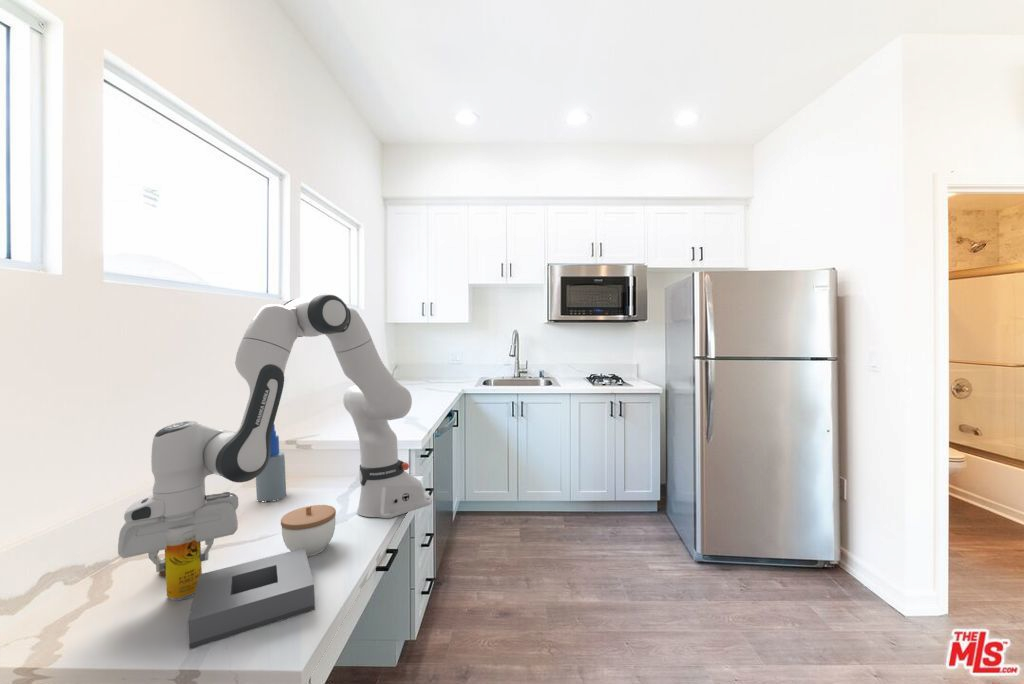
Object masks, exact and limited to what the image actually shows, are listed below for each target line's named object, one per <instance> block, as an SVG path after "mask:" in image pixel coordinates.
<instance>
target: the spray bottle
mask: <svg viewBox="0 0 1024 684" xmlns="http://www.w3.org/2000/svg"><path fill="white" fill-rule="evenodd" d="M275 427H276V426H275V424H274V425H273V428H272V432H271V440H270V446H271V453H270V459H269V462H268V464H267V466H266V468H265V469H264V470H263V471H262V473H261V474H259V475H258V476H257V477H255V489H256V501H257V500H258V501H261V502H260V503H266V502H265V501H271V502H274V501H273V500H276V501H278V500H277V499H279V500H281V499H280V498H282V499H283V497H284V498H285V497H286V496H287V482H286V461H285V459H286V458H285V453H284V452H283V451H280V439H279V438H280V436H279V435H277V432H276V431H277V430H276V428H275ZM258 501H257V502H258ZM262 501H264V502H262Z"/></svg>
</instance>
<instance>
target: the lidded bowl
mask: <svg viewBox="0 0 1024 684" xmlns="http://www.w3.org/2000/svg"><path fill="white" fill-rule="evenodd" d="M336 513H337V512H336V508H335V507H334V506H333V505H332V506H331V505H327V504H315V505H307V506H304V507H299V508H297V509H293V510H291V511H289V512H287V513H285V514H283V516H282V517H281V519H280V526H281V536H282V541H283V543H284V545H285V547H286V548H287V549H288V550H289V552H291V551H295V550H299V549H303V548H305V551H306V555H307V558H308V557H311V556H315V555H318V554H320V553H322V552H324V551H325V549H327V548H326V547H327V545H329V543H330V542H331V541H332V539H333V537H334V534H335V529H336V516H337V515H336Z"/></svg>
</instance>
